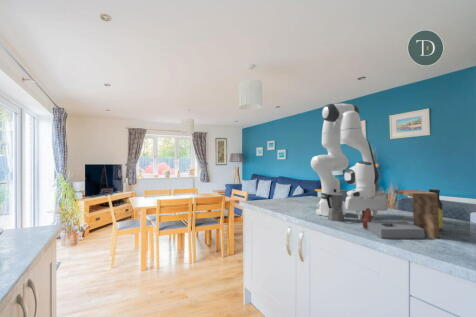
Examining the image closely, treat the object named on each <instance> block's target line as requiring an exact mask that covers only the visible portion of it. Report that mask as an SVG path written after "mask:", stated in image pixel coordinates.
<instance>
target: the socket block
mask: <svg viewBox="0 0 476 317" xmlns="http://www.w3.org/2000/svg"><path fill="white" fill-rule="evenodd" d="M366 230H367V231H369V232H370V233H372V234H373V235H375V236H377V237H378V238H380V239H426V238H425V236H426V235H425V234H424V229H423V228H420V227H418V226H415V225H414V223H413V224H412V223H410V222H408V221H398V220H397V221H371V222H367V228H366Z"/></svg>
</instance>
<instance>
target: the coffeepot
mask: <svg viewBox="0 0 476 317" xmlns="http://www.w3.org/2000/svg"><path fill="white" fill-rule="evenodd" d="M333 190H334V192H332V193H328V194H327V202H328V207H329V215H328V216H327V219H328V220H329V221H332V222H342V221H344V220H345V215H343V211H342V201H343V199H344V193H341V192H340V193H337V192H336V189H333ZM343 202H344V201H343Z"/></svg>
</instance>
